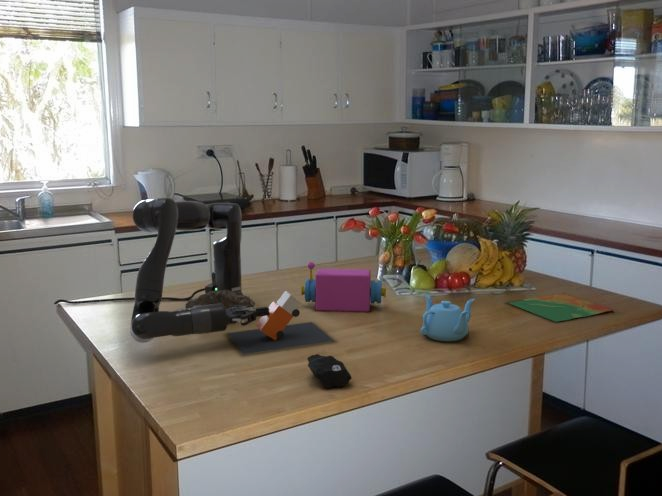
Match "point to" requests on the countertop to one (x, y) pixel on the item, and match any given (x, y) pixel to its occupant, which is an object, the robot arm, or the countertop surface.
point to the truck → (279, 316)
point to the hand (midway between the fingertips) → (268, 310)
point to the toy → (342, 289)
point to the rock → (328, 370)
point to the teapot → (445, 320)
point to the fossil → (220, 299)
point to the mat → (292, 338)
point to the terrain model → (560, 307)
